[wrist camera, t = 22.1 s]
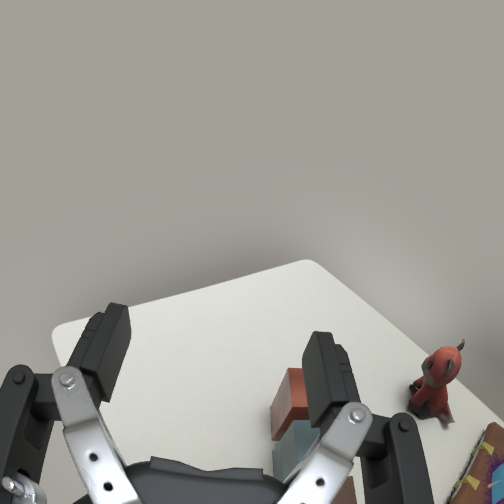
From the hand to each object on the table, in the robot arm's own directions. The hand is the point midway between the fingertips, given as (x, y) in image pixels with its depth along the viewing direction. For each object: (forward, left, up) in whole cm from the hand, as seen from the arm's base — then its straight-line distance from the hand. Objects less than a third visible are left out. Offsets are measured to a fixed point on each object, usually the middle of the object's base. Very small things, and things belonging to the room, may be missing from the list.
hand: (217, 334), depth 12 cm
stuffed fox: (+31, -14, -25) cm, 42 cm away
